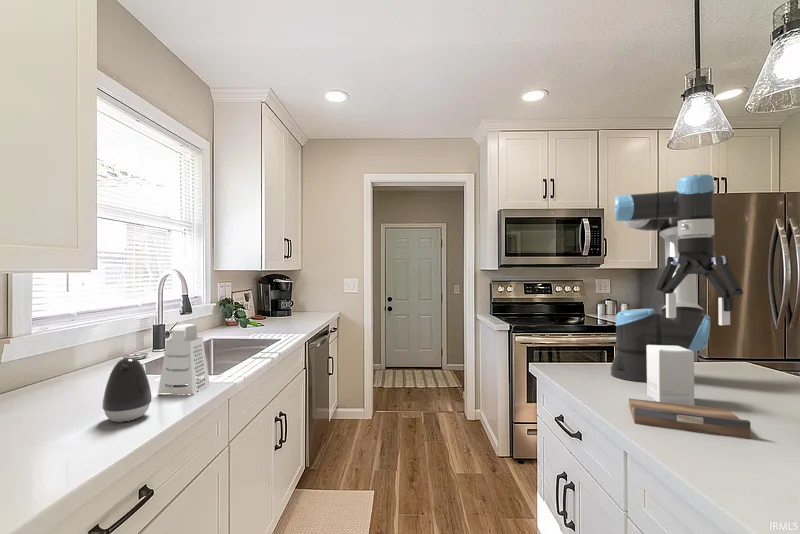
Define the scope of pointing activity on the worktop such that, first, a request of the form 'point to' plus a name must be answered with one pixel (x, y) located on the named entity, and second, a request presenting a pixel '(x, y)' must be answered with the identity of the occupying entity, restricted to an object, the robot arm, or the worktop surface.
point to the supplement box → (670, 374)
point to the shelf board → (689, 418)
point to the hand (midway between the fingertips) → (696, 321)
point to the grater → (184, 362)
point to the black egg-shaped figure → (127, 391)
